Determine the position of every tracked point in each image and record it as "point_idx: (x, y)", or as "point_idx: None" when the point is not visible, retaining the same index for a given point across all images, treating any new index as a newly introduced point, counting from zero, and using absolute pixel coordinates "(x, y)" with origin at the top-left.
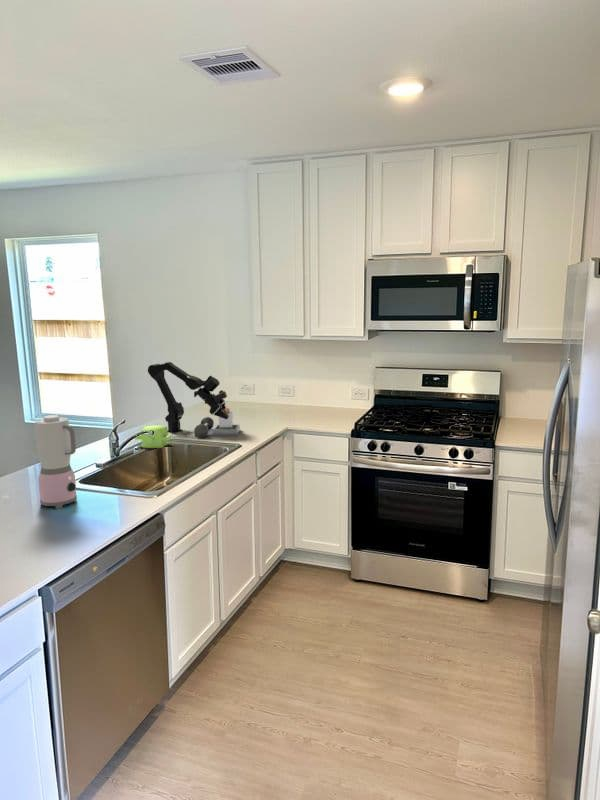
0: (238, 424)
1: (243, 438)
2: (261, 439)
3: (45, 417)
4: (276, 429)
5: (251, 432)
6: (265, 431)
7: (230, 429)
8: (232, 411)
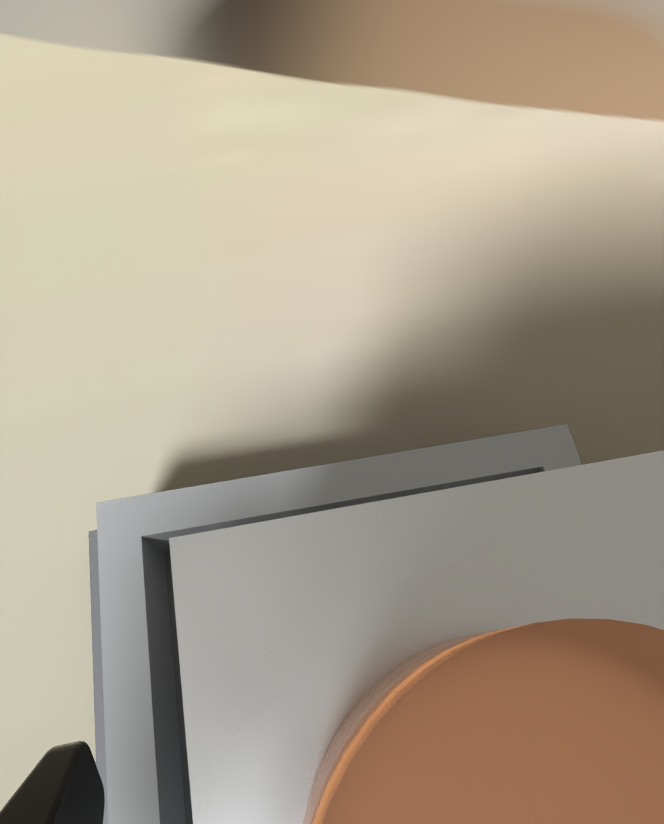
0: (99, 528)
1: (644, 330)
2: (610, 122)
3: None
4: (49, 65)
5: (253, 313)
6: (173, 157)
7: None
8: (184, 561)
